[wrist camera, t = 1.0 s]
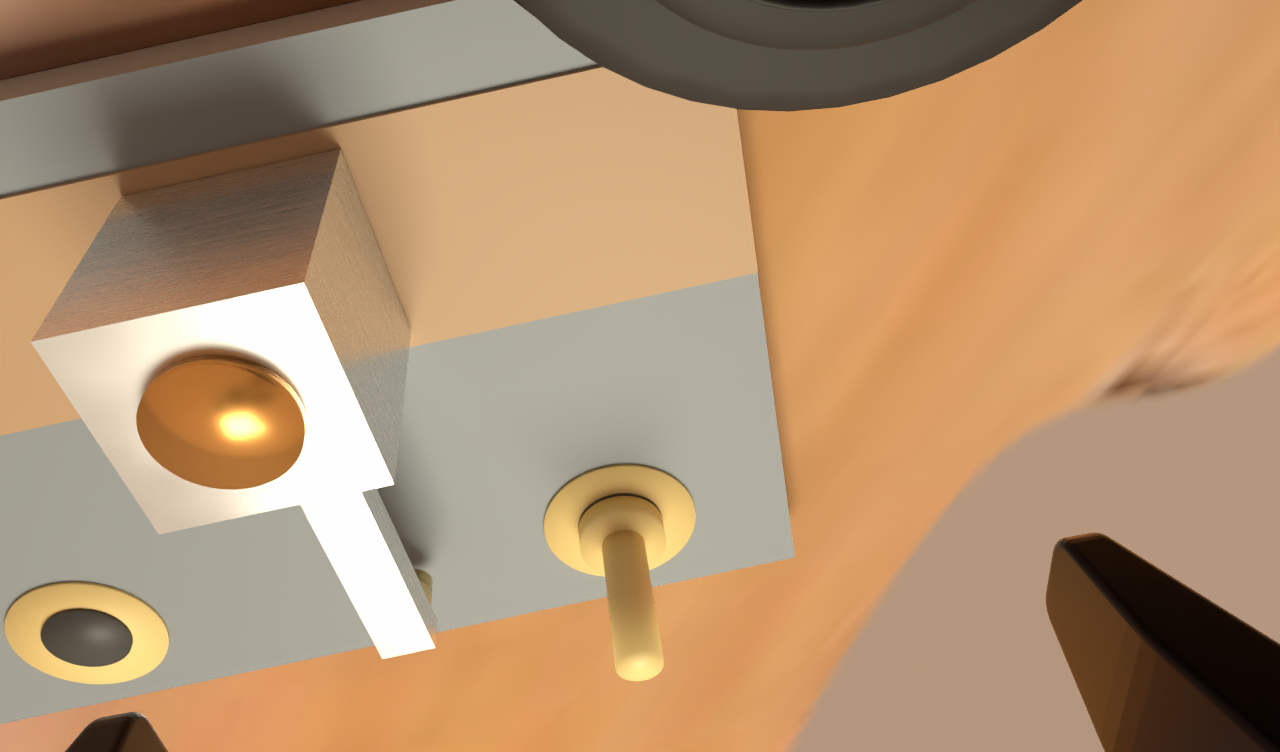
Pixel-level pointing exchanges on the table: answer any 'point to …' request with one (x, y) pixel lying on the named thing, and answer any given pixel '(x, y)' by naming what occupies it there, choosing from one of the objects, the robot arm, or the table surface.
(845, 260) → the table surface
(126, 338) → the white block with bar
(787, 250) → the table surface
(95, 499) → the jig plate
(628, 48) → the coffee cup
